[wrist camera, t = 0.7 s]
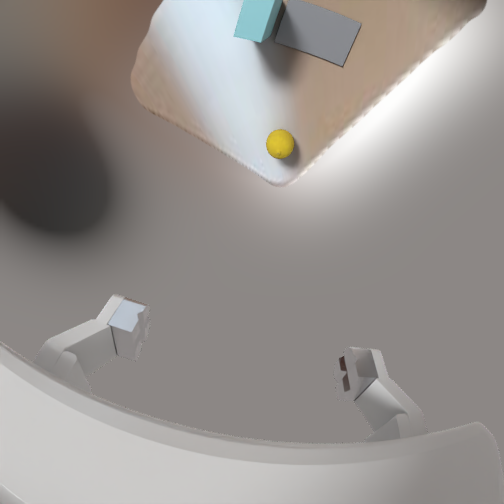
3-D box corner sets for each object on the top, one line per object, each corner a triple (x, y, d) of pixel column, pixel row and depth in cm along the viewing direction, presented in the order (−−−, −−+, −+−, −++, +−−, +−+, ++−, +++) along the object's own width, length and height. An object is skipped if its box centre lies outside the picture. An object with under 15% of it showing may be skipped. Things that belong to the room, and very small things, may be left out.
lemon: (269, 122, 51) (264, 139, 47) (296, 125, 51) (294, 143, 46) (268, 144, 56) (262, 163, 51) (293, 147, 55) (291, 167, 50)
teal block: (248, 30, 36) (233, 36, 29) (260, -5, 30) (247, -10, 23) (270, 36, 37) (260, 42, 29) (282, 0, 30) (276, -4, 23)
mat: (274, 41, 37) (274, 42, 37) (289, -3, 29) (289, -3, 29) (342, 66, 39) (342, 66, 38) (360, 23, 31) (361, 23, 30)
